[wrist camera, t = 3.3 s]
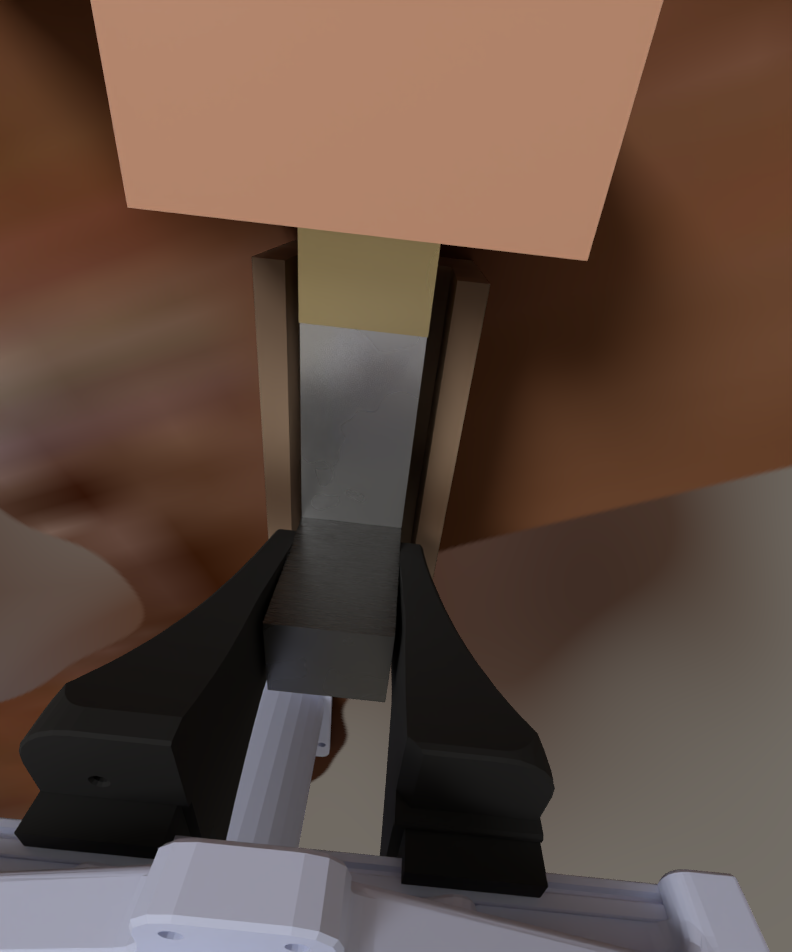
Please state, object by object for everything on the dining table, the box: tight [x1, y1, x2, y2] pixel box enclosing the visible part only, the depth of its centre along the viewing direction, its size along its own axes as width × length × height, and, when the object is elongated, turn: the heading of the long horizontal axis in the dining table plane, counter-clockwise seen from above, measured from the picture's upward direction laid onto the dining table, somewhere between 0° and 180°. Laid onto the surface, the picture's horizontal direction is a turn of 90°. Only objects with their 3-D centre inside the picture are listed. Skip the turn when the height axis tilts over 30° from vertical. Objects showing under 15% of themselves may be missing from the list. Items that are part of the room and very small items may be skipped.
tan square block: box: [90, 0, 663, 261], centre depth 10 cm, size 4×8×8 cm, turn 84°
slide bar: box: [262, 227, 441, 702], centre depth 13 cm, size 14×3×7 cm, turn 174°
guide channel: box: [252, 240, 490, 580], centre depth 17 cm, size 15×6×4 cm, turn 174°
